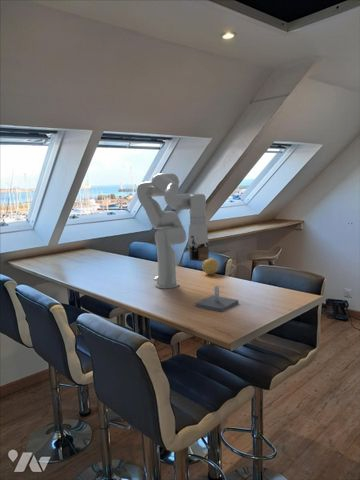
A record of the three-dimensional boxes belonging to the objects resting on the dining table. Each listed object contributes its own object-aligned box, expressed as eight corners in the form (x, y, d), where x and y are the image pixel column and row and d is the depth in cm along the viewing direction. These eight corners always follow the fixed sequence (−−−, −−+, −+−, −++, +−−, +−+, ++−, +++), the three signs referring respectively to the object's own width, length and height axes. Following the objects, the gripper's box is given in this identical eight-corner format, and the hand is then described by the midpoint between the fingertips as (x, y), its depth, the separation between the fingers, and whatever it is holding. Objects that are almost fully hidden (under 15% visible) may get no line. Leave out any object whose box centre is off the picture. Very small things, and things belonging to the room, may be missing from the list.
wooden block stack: (189, 260, 175) (189, 247, 174) (197, 257, 180) (197, 245, 179) (201, 261, 171) (200, 248, 170) (208, 259, 176) (208, 246, 175)
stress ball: (220, 276, 222) (220, 263, 228) (215, 266, 215) (216, 253, 221) (204, 278, 225) (204, 265, 231) (199, 268, 218) (200, 255, 224)
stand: (195, 306, 165) (194, 288, 164) (212, 298, 176) (212, 281, 175) (222, 312, 157) (221, 292, 156) (238, 303, 168) (238, 285, 167)
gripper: (202, 218, 182) (202, 254, 184) (180, 222, 168) (181, 260, 171) (214, 219, 177) (215, 255, 180) (193, 222, 164) (195, 262, 166)
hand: (199, 257), depth 175 cm, fingers closed on wooden block stack, 6 cm apart
